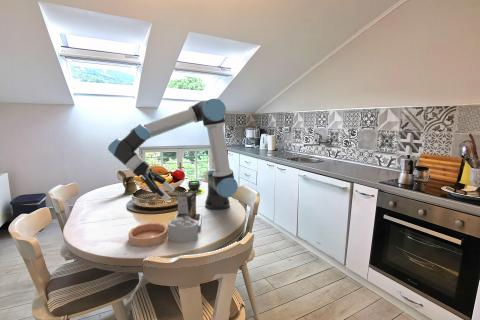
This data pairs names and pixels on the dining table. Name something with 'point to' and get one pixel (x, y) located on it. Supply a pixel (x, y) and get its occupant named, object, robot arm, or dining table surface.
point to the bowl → (148, 234)
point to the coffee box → (187, 205)
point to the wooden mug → (128, 183)
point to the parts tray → (198, 215)
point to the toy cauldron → (194, 186)
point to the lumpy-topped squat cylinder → (183, 229)
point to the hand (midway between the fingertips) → (171, 195)
